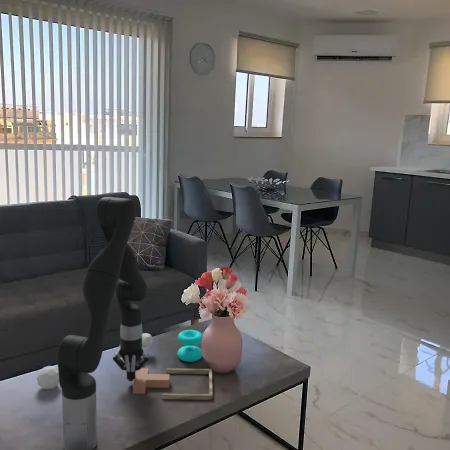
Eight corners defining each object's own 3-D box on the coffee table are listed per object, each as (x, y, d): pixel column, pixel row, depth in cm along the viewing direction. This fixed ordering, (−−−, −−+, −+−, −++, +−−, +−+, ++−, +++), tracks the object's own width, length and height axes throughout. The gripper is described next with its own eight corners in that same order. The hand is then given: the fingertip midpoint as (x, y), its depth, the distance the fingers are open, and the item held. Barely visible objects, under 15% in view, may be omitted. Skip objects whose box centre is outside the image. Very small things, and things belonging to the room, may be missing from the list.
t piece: (167, 394, 168) (168, 386, 167) (132, 393, 167) (132, 385, 167) (170, 375, 180) (170, 368, 179) (137, 375, 179) (137, 368, 178)
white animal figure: (128, 372, 187) (160, 350, 194) (120, 355, 183) (153, 333, 190) (118, 363, 193) (149, 341, 201) (111, 346, 190) (143, 325, 197)
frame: (212, 399, 166) (212, 395, 165) (162, 398, 165) (162, 395, 165) (211, 372, 183) (211, 369, 183) (166, 371, 182) (166, 368, 182)
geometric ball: (43, 394, 169) (33, 373, 170) (65, 381, 172) (55, 361, 173) (42, 394, 162) (31, 373, 163) (64, 382, 165) (54, 360, 166)
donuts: (201, 327, 198) (205, 338, 189) (200, 350, 200) (204, 362, 191) (176, 329, 196) (179, 340, 187) (176, 352, 198) (178, 364, 189)
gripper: (110, 339, 165) (110, 385, 169) (149, 340, 166) (148, 386, 170) (113, 329, 172) (114, 374, 176) (151, 330, 173) (150, 374, 177)
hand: (131, 379), depth 173 cm, fingers closed
